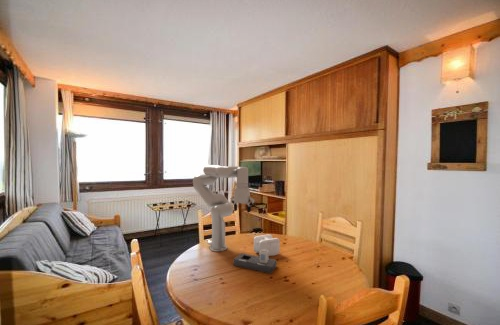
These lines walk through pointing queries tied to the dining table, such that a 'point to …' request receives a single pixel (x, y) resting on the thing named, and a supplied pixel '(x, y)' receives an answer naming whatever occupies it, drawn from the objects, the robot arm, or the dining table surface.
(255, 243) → the cable organizer
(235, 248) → the dining table surface
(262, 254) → the plug
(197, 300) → the dining table surface
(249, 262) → the jack panel
